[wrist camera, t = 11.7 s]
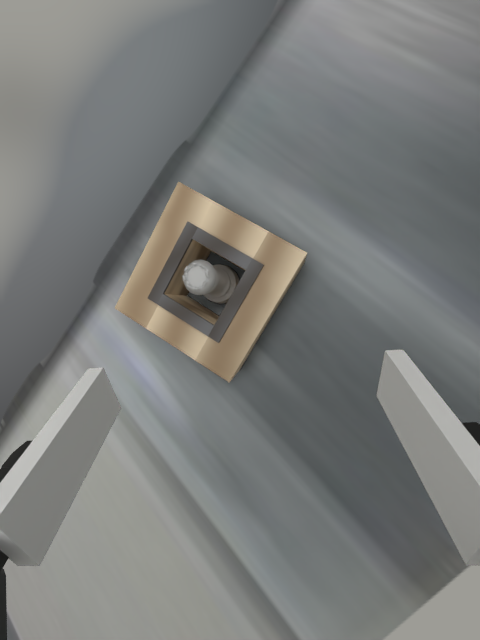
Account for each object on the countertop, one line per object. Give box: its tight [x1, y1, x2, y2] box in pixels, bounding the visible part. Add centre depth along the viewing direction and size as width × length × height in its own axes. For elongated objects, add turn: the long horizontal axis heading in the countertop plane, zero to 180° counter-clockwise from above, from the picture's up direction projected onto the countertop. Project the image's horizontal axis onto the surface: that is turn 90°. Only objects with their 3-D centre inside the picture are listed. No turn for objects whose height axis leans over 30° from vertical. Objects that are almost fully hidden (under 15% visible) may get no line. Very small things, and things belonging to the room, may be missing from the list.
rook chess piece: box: [182, 259, 239, 304], centre depth 29 cm, size 4×4×8 cm
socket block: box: [115, 182, 307, 382], centre depth 29 cm, size 14×14×6 cm
